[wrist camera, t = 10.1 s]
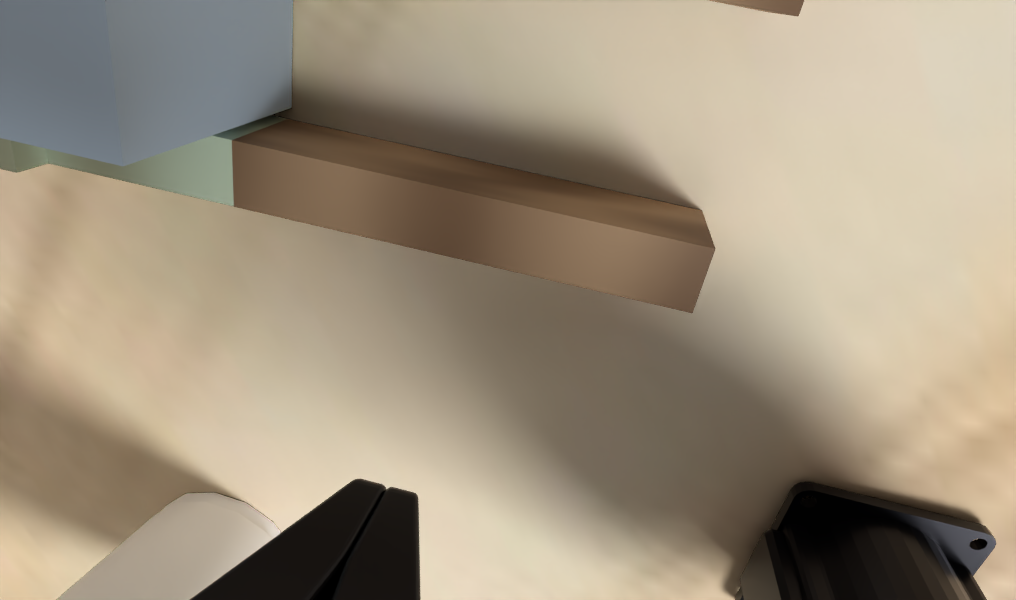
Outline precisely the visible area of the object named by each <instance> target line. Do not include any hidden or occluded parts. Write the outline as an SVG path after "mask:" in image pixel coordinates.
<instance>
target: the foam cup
mask: <svg viewBox="0 0 1016 600" xmlns="http://www.w3.org/2000/svg"><path fill="white" fill-rule="evenodd" d="M280 533H281V532H280V530H279V529H278V528H277V526H276V525H275V524H274V522H272V521H271V520H270V519H268V518H267V517H265V516H264V515H263V514H261V513H260V512H258V511H257V510H256V509H254V508H253V507H251V506H250V505H248V504H247V503H245V502H242V501H239V500H236V499H233V498H230V497H227V496H224V495H221V494H218V493H215V492H214V493H186V494H184V495H182V496H181V497H179V498H178V499H176V500H174V501H173V502H171V503H169V504H168V505H166V506H165V507H164V508H163V510H162V511H160V512H159V513H157V514H155V515H154V516H153V517H152V518H150V519H149V520H148V521H147V522H146V523H145V524H143V525H142V526H141V527H140V528H139V529H138V530H136V531H135V532H134V533H133V534H132V535H131V536H129V537H128V538H127V539H126V540H125V541H124V542H122V543H121V544H120V545H119V546H118V547H117V548H115V549H114V550H113V551H112V552H111V553H110V554H109V555H107V556H106V557H105V558H104V559H103V560H102V561H100V562H99V563H98V564H97V565H96V566H95V567H93V568H92V569H91V570H90V571H89V572H88V573H86V574H85V575H84V576H83V577H82V578H81V579H79V580H78V581H77V582H76V583H75V584H74V585H72V586H71V587H70V588H69V589H68V590H67V591H65V592H64V593H63V594H62V595H61V596H60V597H59V598H57V599H56V600H190V599H191V598H192V597H194V596H195V595H197V594H198V593H199V592H201V591H202V590H203V589H205V588H206V587H208V586H209V585H210V584H212V583H213V582H214V581H216V580H217V579H219V578H220V577H221V576H223V575H224V574H225V573H227V572H228V571H229V570H231V569H232V568H234V567H235V566H236V565H238V564H239V563H240V562H242V561H243V560H245V559H246V558H247V557H249V556H250V555H251V554H253V553H254V552H255V551H257V550H258V549H260V548H261V547H262V546H264V545H265V544H266V543H268V542H269V541H271V540H272V539H273V538H275V537H276V536H277V535H279V534H280Z"/></svg>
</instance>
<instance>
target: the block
mask: <svg viewBox="0 0 1016 600" xmlns="http://www.w3.org/2000/svg"><path fill="white" fill-rule="evenodd" d="M292 37H293V0H0V138H3V139H7V140H11V141H16V142H20V143H24V144H29V145H33V146H37V147H42V148H46V149H50V150H55V151H59V152H63V153H68V154H72V155H76V156H81V157H85V158H89V159H94V160H98V161H102V162H106V163H111V164H115V165H119V166H126V165H129V164H132V163H135V162H137V161H140V160H143V159H146V158H149V157H152V156H155V155H158V154H160V153H163V152H166V151H169V150H172V149H175V148H178V147H181V146H183V145H186V144H189V143H192V142H195V141H198V140H201V139H203V138H206V137H209V136H212V135H215V134H218V133H221V132H224V131H226V130H229V129H232V128H235V127H238V126H241V125H244V124H247V123H249V122H252V121H255V120H258V119H261V118H264V117H267V116H269V115H272V114H275V113H278V112H281V111H284V110H287V109H290V108H291V106H292Z"/></svg>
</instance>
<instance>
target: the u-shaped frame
mask: <svg viewBox="0 0 1016 600" xmlns="http://www.w3.org/2000/svg"><path fill="white" fill-rule="evenodd" d="M710 1H715V2H720V3H725V4H730V5H735V6H740V7H745V8H750V9H755V10H760V11H765V12H771V13H778V14H785V15H792V16H799V13H800V10H801V8H802V5H803V2H804V0H710ZM48 163H49V164H53V165H58V166H62V167H66V168H70V169H75V170H79V171H83V172H88V173H92V174H96V175H101V176H105V177H109V178H113V179H118V180H122V181H126V182H131V183H135V184H139V185H144V186H148V187H152V188H156V189H161V190H165V191H169V192H174V193H178V194H182V195H187V196H191V197H195V198H199V199H204V200H208V201H212V202H217V203H221V204H225V205H230V206H234V207H238V208H242V209H247V210H251V211H255V212H260V213H264V214H268V215H273V216H277V217H281V218H285V219H290V220H294V221H298V222H303V223H307V224H311V225H316V226H320V227H324V228H328V229H333V230H337V231H341V232H346V233H350V234H354V235H359V236H363V237H367V238H371V239H376V240H380V241H384V242H389V243H393V244H397V245H402V246H406V247H410V248H414V249H419V250H423V251H427V252H432V253H436V254H440V255H445V256H449V257H453V258H457V259H462V260H466V261H470V262H475V263H479V264H483V265H488V266H492V267H496V268H500V269H505V270H509V271H513V272H518V273H522V274H526V275H531V276H535V277H539V278H543V279H548V280H552V281H556V282H561V283H565V284H569V285H574V286H578V287H582V288H586V289H591V290H595V291H599V292H604V293H608V294H612V295H617V296H621V297H625V298H629V299H634V300H638V301H642V302H647V303H651V304H655V305H660V306H664V307H668V308H672V309H677V310H681V311H685V312H690V313H693V310H694V307H695V304H696V302H697V299H698V296H699V293H700V290H701V288H702V285H703V282H704V279H705V276H706V274H707V271H708V268H709V265H710V262H711V260H712V257H713V254H714V251H715V247H714V244H713V241H712V238H711V235H710V232H709V229H708V227H707V224H706V221H705V218H704V215H703V212H702V210H697V209H693V208H688V207H684V206H679V205H675V204H670V203H666V202H661V201H657V200H652V199H648V198H643V197H639V196H634V195H629V194H625V193H620V192H616V191H611V190H607V189H602V188H598V187H593V186H589V185H584V184H580V183H575V182H571V181H566V180H562V179H557V178H553V177H548V176H543V175H539V174H534V173H530V172H525V171H521V170H516V169H512V168H507V167H503V166H498V165H494V164H489V163H485V162H480V161H476V160H471V159H467V158H462V157H458V156H453V155H448V154H444V153H439V152H435V151H430V150H426V149H421V148H417V147H412V146H408V145H403V144H399V143H394V142H390V141H385V140H381V139H376V138H372V137H367V136H363V135H358V134H353V133H349V132H344V131H340V130H335V129H331V128H326V127H322V126H317V125H313V124H308V123H304V122H299V121H295V120H290V119H286V118H281V117H277V116H272V115H269V116H267V117H264V118H261V119H258V120H255V121H252V122H249V123H247V124H244V125H241V126H238V127H235V128H232V129H229V130H226V131H224V132H221V133H218V134H215V135H212V136H209V137H206V138H203V139H201V140H198V141H195V142H192V143H189V144H186V145H183V146H181V147H178V148H175V149H172V150H169V151H166V152H163V153H160V154H158V155H155V156H152V157H149V158H146V159H143V160H140V161H137V162H135V163H132V164H129V165H126V166H119V165H115V164H111V163H106V162H102V161H98V160H94V159H89V158H85V157H81V156H76V155H72V154H68V153H63V152H59V151H55V150H50V149H46V148H42V147H37V146H33V145H29V144H24V143H20V142H16V141H11V140H7V139H3V138H0V169H3V170H8V171H12V172H16V173H17V172H21V171H24V170H27V169H31V168H34V167H37V166H41V165H44V164H48Z"/></svg>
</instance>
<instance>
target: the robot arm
mask: <svg viewBox="0 0 1016 600" xmlns="http://www.w3.org/2000/svg"><path fill="white" fill-rule="evenodd" d="M806 496H812V497H811V498H809V499H802V498H803V497H806ZM974 539H977V540H974ZM972 540H973V541H972ZM995 545H996V540H995V538H994V537H993V535H992V534H991V532H990V531H989V530H988V529H987V527H986V526H983V525H981V524H977V523H973V522H969V521H965V520H961V519H957V518H953V517H949V516H945V515H941V514H937V513H933V512H929V511H925V510H921V509H917V508H913V507H909V506H905V505H901V504H897V503H893V502H889V501H885V500H881V499H877V498H873V497H869V496H865V495H860V494H856V493H852V492H848V491H844V490H840V489H836V488H832V487H828V486H824V485H820V484H816V483H812V482H802V483H798V484H796V485H795V486H794V487H793V488H792V489H791V490H790V492H789V494H788V496H787V498H786V500H785V502H784V504H783V506H782V508H781V510H780V512H779V513H778V515H777V517H776V519H775V521H774V523H773V525H772V527H771V529H768V530H767V531H766V532H764V533H763V534H762V536H761V538H760V540H759V542H758V544H757V546H756V548H755V550H754V552H753V554H752V556H751V558H750V560H749V562H748V564H747V566H746V568H745V570H744V571H743V573H742V575H741V578H740V583H741V587H740V589H739V591H738V593H737V594H736V597H735V600H987V599H986V598H985V596H984V594H983V592H982V591H981V589H980V587H979V586H978V584H977V582H976V581H975V579H974V577H973V575H974V574H975V573H976V571H977V570H978V569H979V567H980V566H981V565H982V563H983V562H984V561H985V560H986V558H987V557H988V556H989V554H990V553H991V552H992V550H993V549H994V548H995ZM190 600H420V557H419V508H418V496H417V494H416V493H413V492H410V491H406V490H402V489H398V488H394V487H390V488H388V489H387V490H386V487H385V486H384V485H382V484H379V483H375V482H371V481H367V480H363V479H355V480H353V481H351V482H350V483H349V484H347V485H346V486H344V487H343V488H342V489H340V490H339V491H338V492H336V493H335V494H334V495H332V496H331V497H329V498H328V499H327V500H325V501H324V502H323V503H321V504H320V505H318V506H317V507H316V508H314V509H313V510H312V511H310V512H309V513H308V514H306V515H305V516H303V517H302V518H301V519H299V520H298V521H297V522H295V523H294V524H292V525H291V526H290V527H288V528H287V529H286V530H284V531H283V532H281V533H280V534H279V535H277V536H276V537H275V538H273V539H272V540H271V541H269V542H268V543H266V544H265V545H264V546H262V547H261V548H260V549H258V550H257V551H255V552H254V553H253V554H251V555H250V556H249V557H247V558H246V559H245V560H243V561H242V562H240V563H239V564H238V565H236V566H235V567H234V568H232V569H231V570H229V571H228V572H227V573H225V574H224V575H223V576H221V577H220V578H219V579H217V580H216V581H214V582H213V583H212V584H210V585H209V586H208V587H206V588H205V589H203V590H202V591H201V592H199V593H198V594H197V595H195V596H194V597H192V598H191V599H190Z"/></svg>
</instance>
